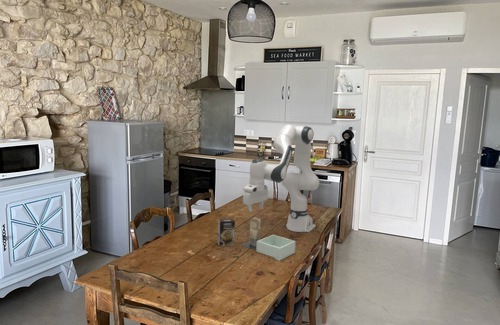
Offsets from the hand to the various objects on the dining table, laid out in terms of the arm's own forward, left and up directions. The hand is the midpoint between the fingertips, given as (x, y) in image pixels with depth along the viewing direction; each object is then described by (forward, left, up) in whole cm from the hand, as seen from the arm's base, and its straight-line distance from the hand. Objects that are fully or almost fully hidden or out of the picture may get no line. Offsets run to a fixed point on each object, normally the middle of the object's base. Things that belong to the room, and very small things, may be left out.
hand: (255, 209), depth 221 cm
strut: (0, 0, -22) cm, 22 cm away
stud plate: (0, 0, -23) cm, 23 cm away
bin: (-1, +15, -23) cm, 27 cm away
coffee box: (+11, -13, -23) cm, 29 cm away
